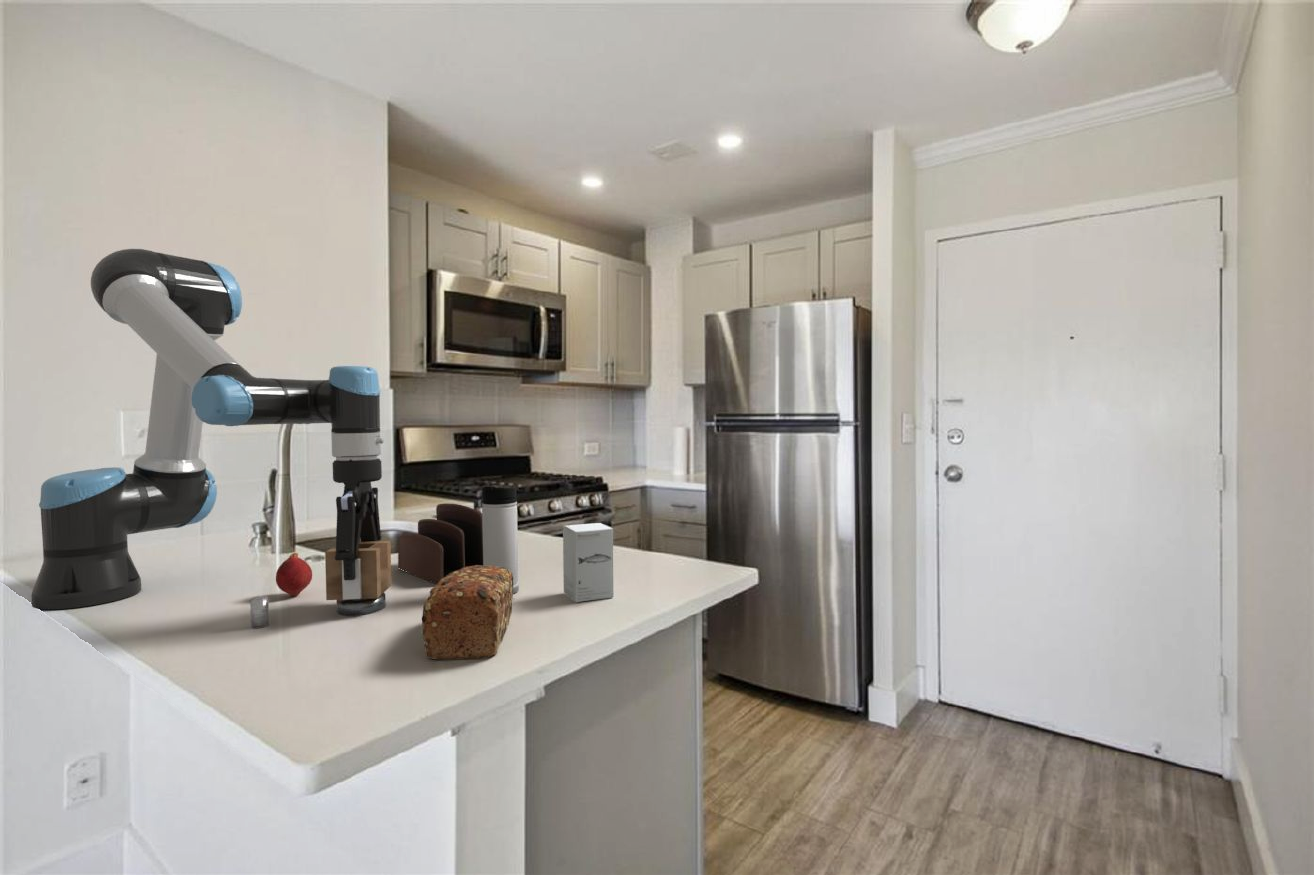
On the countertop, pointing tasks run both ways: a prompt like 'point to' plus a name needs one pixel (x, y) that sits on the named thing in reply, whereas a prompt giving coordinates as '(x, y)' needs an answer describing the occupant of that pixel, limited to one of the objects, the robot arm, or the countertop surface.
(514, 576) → the travel mug
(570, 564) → the supplement box
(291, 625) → the countertop surface
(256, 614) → the grey rounded piece
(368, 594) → the collar
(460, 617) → the bread
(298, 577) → the onion
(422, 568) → the letter holder
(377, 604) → the hub
